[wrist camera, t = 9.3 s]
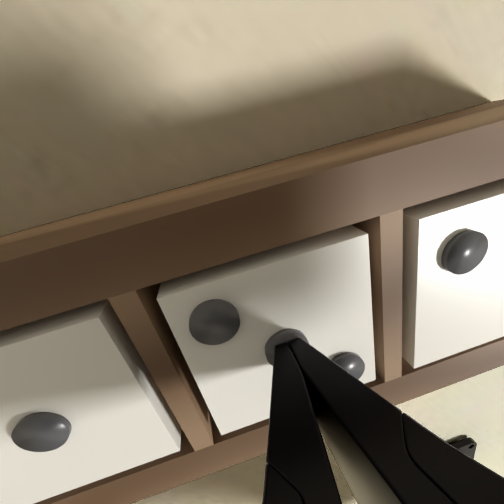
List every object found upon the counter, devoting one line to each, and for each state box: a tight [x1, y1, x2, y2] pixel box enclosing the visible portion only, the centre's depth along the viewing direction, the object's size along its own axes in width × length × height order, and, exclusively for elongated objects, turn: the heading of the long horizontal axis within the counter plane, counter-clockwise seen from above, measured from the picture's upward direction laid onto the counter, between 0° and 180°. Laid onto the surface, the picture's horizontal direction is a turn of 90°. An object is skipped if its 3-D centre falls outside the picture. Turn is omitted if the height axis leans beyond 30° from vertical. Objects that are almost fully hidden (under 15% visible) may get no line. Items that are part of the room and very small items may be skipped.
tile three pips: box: [157, 225, 376, 435], centre depth 9 cm, size 6×6×3 cm
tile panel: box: [0, 100, 504, 504], centre depth 10 cm, size 10×24×4 cm, turn 103°
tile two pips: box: [402, 178, 504, 369], centre depth 10 cm, size 6×6×3 cm
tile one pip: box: [0, 299, 181, 504], centre depth 9 cm, size 6×6×3 cm
